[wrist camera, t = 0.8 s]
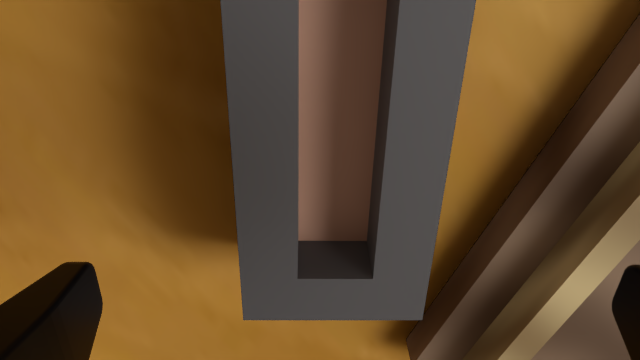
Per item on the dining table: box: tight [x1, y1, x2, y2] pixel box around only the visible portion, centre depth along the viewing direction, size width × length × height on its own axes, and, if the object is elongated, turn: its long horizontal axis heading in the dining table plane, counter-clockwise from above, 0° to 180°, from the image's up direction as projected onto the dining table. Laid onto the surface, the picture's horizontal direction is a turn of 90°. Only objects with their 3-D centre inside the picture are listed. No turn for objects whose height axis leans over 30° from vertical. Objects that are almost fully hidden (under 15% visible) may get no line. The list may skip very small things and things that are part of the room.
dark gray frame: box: [220, 0, 476, 320], centre depth 16 cm, size 14×6×4 cm, turn 179°
